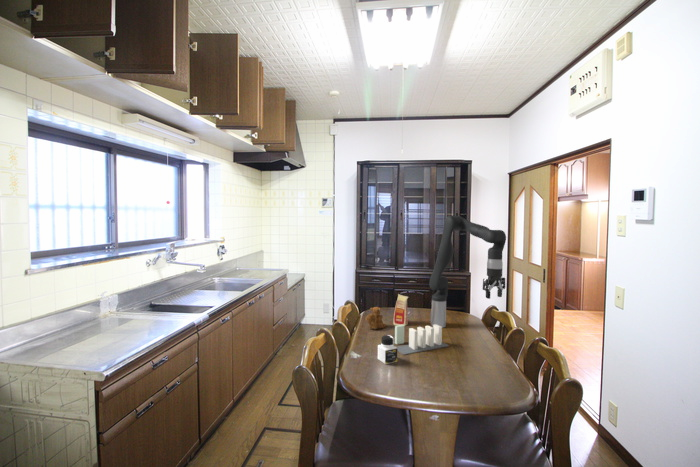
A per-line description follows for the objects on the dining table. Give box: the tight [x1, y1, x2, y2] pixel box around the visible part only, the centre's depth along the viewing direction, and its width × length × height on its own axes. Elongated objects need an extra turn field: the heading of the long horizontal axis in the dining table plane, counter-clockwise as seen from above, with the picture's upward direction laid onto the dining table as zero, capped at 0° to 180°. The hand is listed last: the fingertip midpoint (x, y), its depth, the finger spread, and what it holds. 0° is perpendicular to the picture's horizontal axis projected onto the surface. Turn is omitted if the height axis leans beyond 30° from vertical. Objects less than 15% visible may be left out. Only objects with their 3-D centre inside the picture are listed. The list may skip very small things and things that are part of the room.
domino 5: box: [432, 324, 443, 345], centre depth 176 cm, size 2×5×10 cm, turn 25°
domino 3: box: [416, 326, 426, 348], centre depth 171 cm, size 2×5×10 cm, turn 24°
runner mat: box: [396, 341, 450, 356], centre depth 171 cm, size 10×30×1 cm, turn 114°
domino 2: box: [408, 327, 418, 350], centre depth 169 cm, size 2×5×10 cm, turn 24°
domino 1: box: [394, 325, 405, 345], centre depth 177 cm, size 2×5×10 cm, turn 114°
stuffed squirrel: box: [365, 306, 387, 330], centre depth 203 cm, size 10×14×13 cm
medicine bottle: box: [377, 334, 398, 365], centre depth 154 cm, size 7×7×12 cm
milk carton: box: [392, 293, 409, 327], centre depth 212 cm, size 9×9×20 cm
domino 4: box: [424, 325, 434, 347], centre depth 174 cm, size 2×5×10 cm, turn 24°
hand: (493, 297), depth 166 cm, fingers open, 8 cm apart
